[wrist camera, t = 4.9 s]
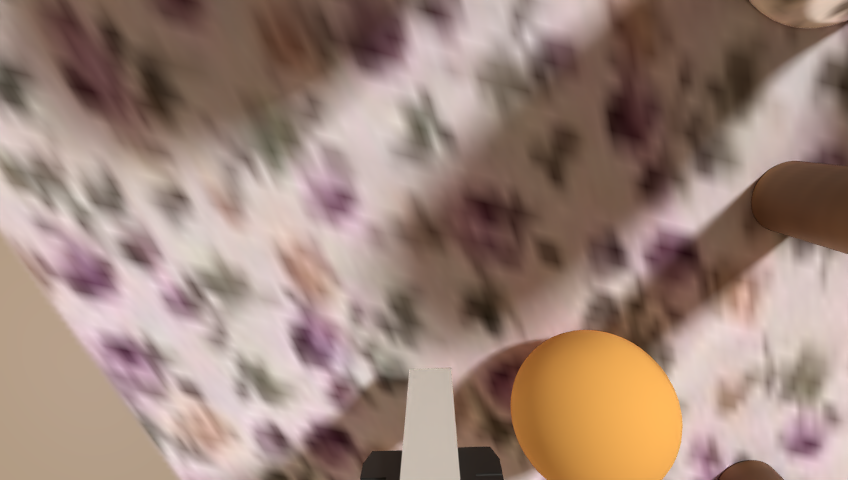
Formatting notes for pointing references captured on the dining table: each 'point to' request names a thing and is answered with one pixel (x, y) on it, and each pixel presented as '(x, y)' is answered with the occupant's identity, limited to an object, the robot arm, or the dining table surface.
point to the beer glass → (804, 12)
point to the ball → (595, 410)
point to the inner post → (805, 202)
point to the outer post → (750, 471)
